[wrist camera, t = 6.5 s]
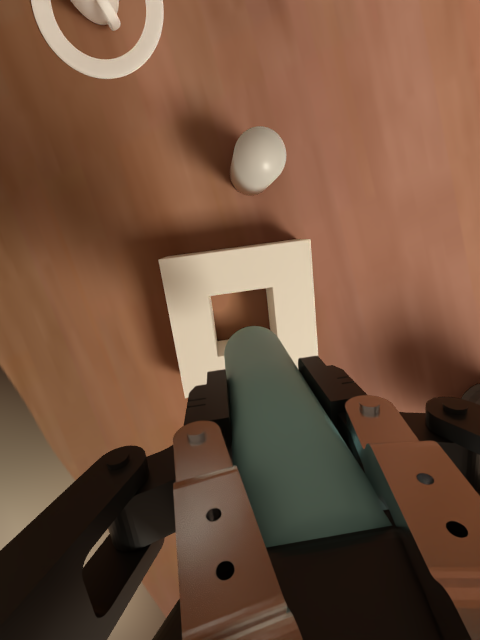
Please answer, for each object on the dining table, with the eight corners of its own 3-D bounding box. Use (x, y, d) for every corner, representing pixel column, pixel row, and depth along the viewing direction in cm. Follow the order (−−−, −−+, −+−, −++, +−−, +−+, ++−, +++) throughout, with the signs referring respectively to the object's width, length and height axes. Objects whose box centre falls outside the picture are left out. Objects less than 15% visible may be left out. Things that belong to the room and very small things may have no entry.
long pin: (220, 330, 16) (232, 530, 5) (279, 322, 16) (416, 498, 5) (228, 385, 16) (254, 660, 6) (285, 376, 16) (413, 629, 6)
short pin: (227, 153, 22) (230, 129, 17) (269, 148, 22) (283, 123, 17) (232, 198, 23) (237, 187, 18) (273, 192, 23) (288, 181, 18)
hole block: (166, 256, 24) (158, 259, 20) (297, 239, 24) (310, 239, 21) (189, 377, 26) (185, 398, 23) (306, 359, 27) (319, 377, 23)
